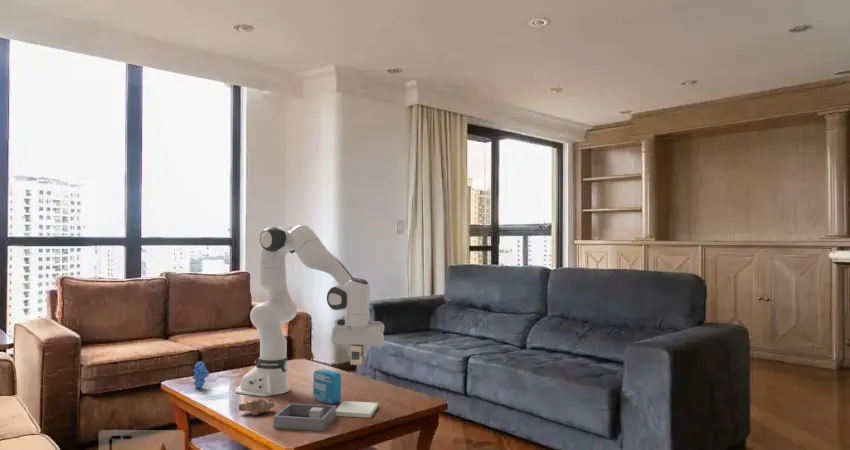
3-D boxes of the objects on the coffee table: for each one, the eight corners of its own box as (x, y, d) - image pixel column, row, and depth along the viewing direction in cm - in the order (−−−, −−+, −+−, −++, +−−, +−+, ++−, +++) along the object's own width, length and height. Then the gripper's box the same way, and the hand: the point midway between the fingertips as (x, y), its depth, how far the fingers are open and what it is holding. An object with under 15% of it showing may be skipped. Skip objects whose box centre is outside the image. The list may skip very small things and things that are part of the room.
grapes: (213, 390, 250) (214, 362, 250) (197, 392, 246) (198, 363, 246) (205, 384, 260) (206, 357, 260) (189, 386, 256) (190, 358, 256)
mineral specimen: (248, 415, 212) (244, 397, 215) (240, 422, 217) (236, 404, 220) (278, 408, 221) (273, 391, 223) (269, 415, 225) (265, 398, 228)
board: (333, 415, 219) (333, 411, 219) (343, 404, 233) (343, 400, 233) (370, 417, 217) (370, 413, 217) (377, 406, 231) (377, 402, 231)
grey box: (309, 424, 209) (309, 410, 209) (312, 420, 213) (312, 407, 213) (319, 425, 208) (320, 411, 208) (323, 421, 212) (323, 407, 212)
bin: (273, 427, 204) (273, 416, 204) (289, 413, 220) (289, 403, 220) (323, 431, 202) (323, 419, 202) (335, 416, 218) (335, 405, 218)
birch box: (353, 361, 228) (354, 343, 229) (363, 361, 228) (364, 343, 228) (350, 364, 222) (350, 346, 222) (360, 365, 222) (360, 346, 222)
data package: (312, 399, 240) (313, 370, 240) (321, 396, 243) (321, 368, 244) (332, 405, 232) (333, 374, 232) (340, 402, 236) (341, 372, 236)
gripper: (386, 320, 227) (385, 355, 227) (335, 318, 230) (334, 353, 230) (382, 322, 221) (382, 359, 221) (330, 320, 224) (329, 356, 223)
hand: (357, 356), depth 225 cm, fingers closed on birch box, 4 cm apart
